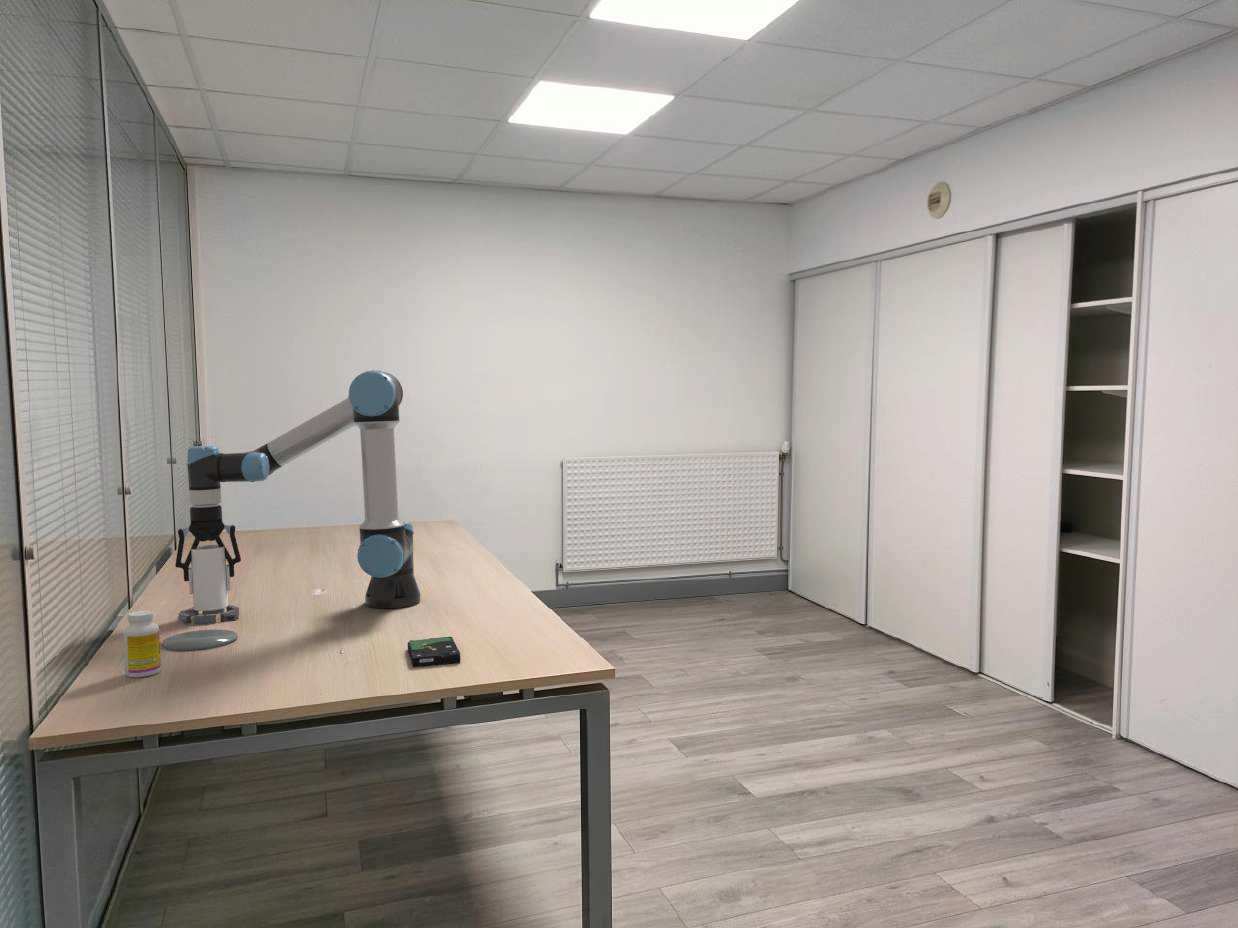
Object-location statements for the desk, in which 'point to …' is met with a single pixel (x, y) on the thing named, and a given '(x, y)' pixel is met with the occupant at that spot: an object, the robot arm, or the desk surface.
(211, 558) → the cup
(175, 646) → the coaster
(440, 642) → the disk drive
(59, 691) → the desk surface
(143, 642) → the supplement bottle
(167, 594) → the desk surface
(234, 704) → the desk surface
